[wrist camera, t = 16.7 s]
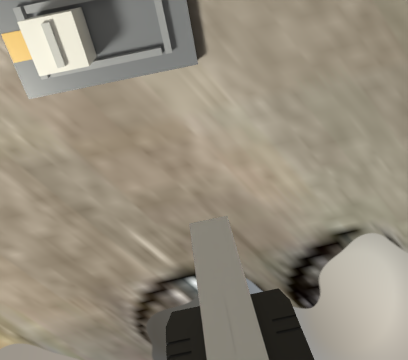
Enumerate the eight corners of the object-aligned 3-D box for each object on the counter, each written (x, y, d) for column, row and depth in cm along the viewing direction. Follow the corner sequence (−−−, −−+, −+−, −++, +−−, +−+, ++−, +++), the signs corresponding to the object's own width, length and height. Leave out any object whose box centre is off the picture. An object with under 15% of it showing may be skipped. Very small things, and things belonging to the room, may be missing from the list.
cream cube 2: (33, 16, 29) (15, 22, 26) (81, 6, 29) (69, 11, 26) (52, 65, 31) (38, 77, 28) (96, 56, 31) (88, 67, 28)
